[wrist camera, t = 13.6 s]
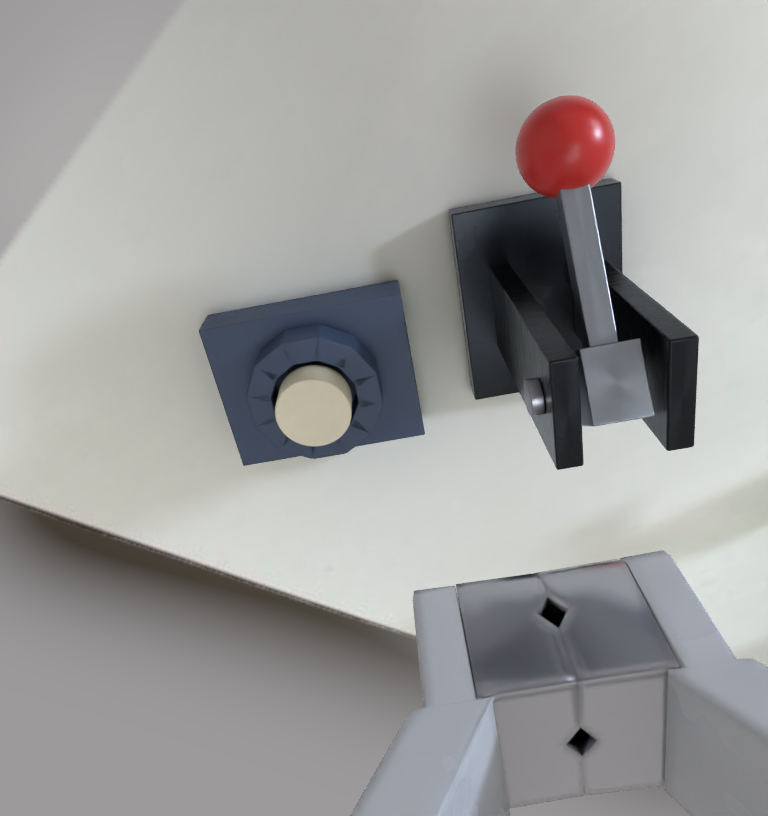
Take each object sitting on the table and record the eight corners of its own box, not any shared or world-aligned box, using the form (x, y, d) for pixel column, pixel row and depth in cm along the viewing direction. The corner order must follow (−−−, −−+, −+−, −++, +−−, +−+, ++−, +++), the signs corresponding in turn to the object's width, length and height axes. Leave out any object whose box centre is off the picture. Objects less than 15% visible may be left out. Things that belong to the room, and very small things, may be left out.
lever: (502, 131, 27) (514, 87, 23) (591, 114, 27) (617, 66, 23) (556, 429, 27) (577, 430, 23) (646, 413, 26) (682, 412, 23)
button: (270, 371, 32) (266, 387, 31) (343, 358, 32) (342, 373, 30) (288, 434, 34) (285, 452, 32) (358, 422, 34) (358, 440, 32)
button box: (207, 315, 34) (190, 344, 31) (397, 279, 34) (402, 305, 30) (249, 445, 38) (238, 484, 35) (421, 415, 38) (428, 452, 34)
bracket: (448, 209, 32) (496, 291, 21) (613, 177, 32) (752, 244, 21) (472, 390, 37) (522, 537, 26) (616, 365, 37) (731, 502, 25)
